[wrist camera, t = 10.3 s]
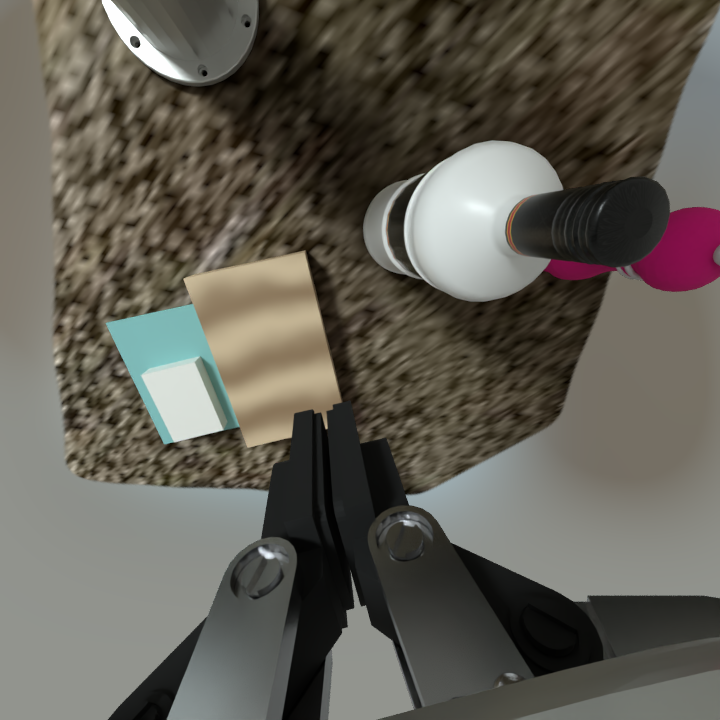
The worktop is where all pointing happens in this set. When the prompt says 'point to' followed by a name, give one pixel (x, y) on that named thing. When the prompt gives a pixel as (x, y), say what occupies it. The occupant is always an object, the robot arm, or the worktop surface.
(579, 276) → the pepper mill
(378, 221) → the vodka
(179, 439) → the white rectangular block
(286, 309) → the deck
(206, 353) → the mat
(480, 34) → the worktop surface
